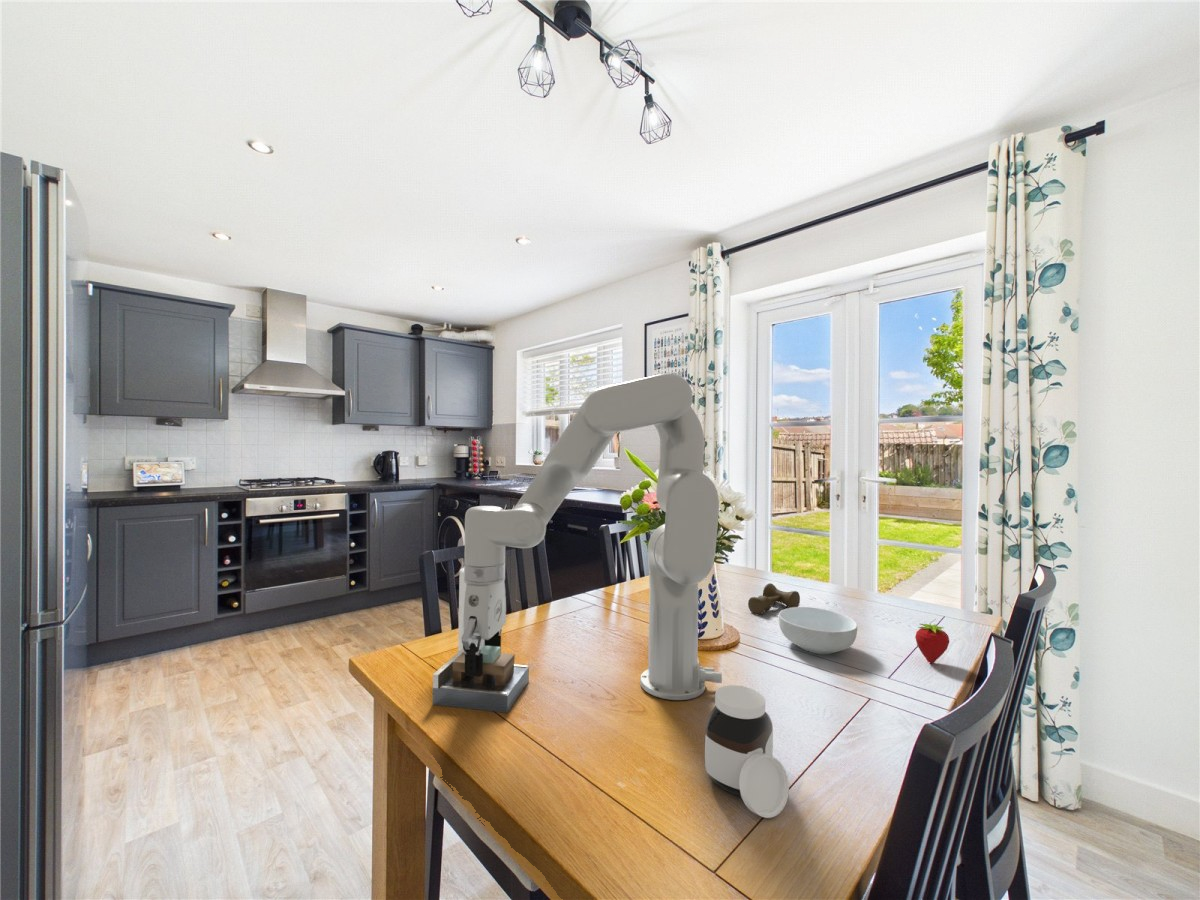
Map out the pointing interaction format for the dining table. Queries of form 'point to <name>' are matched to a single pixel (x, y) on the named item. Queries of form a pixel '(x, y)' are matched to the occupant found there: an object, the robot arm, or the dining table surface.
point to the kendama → (773, 599)
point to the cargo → (490, 653)
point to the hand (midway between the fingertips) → (483, 664)
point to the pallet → (487, 669)
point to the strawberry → (932, 641)
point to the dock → (477, 689)
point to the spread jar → (745, 751)
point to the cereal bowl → (817, 629)
